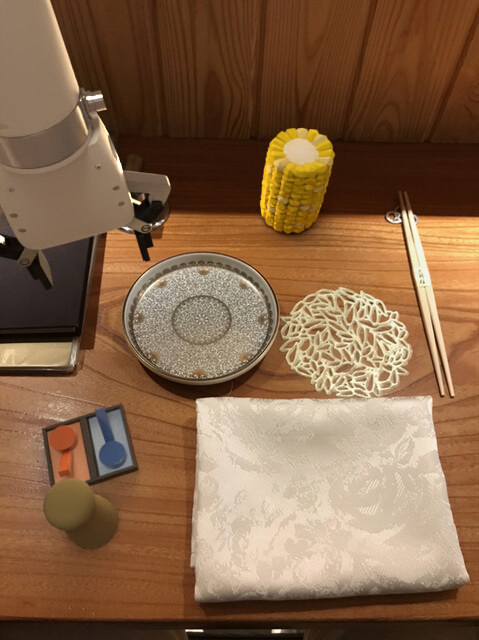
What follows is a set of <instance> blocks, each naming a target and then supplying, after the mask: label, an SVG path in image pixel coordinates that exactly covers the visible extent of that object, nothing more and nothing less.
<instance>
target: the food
mask: <svg viewBox="0 0 479 640" xmlns="http://www.w3.org/2000/svg"><path fill="white" fill-rule="evenodd" d="M333 148H334V147H333V144H332V142H331V141H330V140H329V139H328V137H327V135H325V134H320V133H319V131H318V129H311V128H310V129H309V130H308V129H307V128H303V127H300V128H297V129H296V128H295V127H293V128H287V129H286V131H283V130H281V131H280V132H279V133H278V134H276V136H275V137H274V138H273V139H272V140H271V141H270V142H269V146H268V148H267V150H268V151H266V157H265V163H264V164H265V165H264V168H263V175H262V178H263V179H262V181H261V195H260V199H261V200H260V201H259V206H260V213H261V217H262V218H263V220H265V223H266V225H267V226H268V227H272V228H273V229H274V231H275V232H279V233H282V232H284V233H285V234H287V235H288V234H291V233H295V234H300V233H301V232H303V231H305V229H309V228H311V227H312V225H313V223H316V221H317V219H318V217H319V213H320V210H321V207H322V204H323V203H324V196H325V194H326V193H327V187H329V181H330V179H329V178H330V177H331V173H332V171H331V170H332V169H333V165H334V158H335V156H336V154H335V152H334V150H333Z"/></svg>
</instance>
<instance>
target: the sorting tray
mask: <svg viewBox="0 0 479 640" xmlns="http://www.w3.org/2000/svg"><path fill="white" fill-rule="evenodd" d="M105 409H106V412H107V415H108V418H109V421H110V424H111V427H112V430H113V433H114V436H115V441H118V442H120V443H121V444H122V445H123V446H124V447H125V449H126V451H127V459H126V461H125V463H124V464H123V465H122V466H121V467H119V468H117V469H109V468H107V467H105V466H104V465H103V464H102V462H101V461H100V459H99V451H100V449H101V447H102V446H103V445H104V444H105V440H104V437H103V434H102V431H101V428H100V425H99V422H98V419H97V416H96V413H95V411H92V412H89V413H86V414H82V415H80V416H77V417H73V418H70V419H66V420H64V421H60V422H58V423H53V424H52V425H51V424H50V425H48V426H45V427H42V428H41V434H42V440H43V445H44V447H43V448H44V453H45V459H46V465H47V471H48V472H47V473H48V479H49V485H50V488H51V487H52V486H53V485H54V484H55V483H57V482H59V481H61V480H63V479H68V478H75V479H80V480H82V481H84V482H86V483H87V484H88V485H89V486H90V487H91V486H93V485H97V484H100V483H103V482H105V481H109V480H113V479H115V478H118V477H120V476H121V477H122V476H124V475H126V474H130V473H133V472H136V471H138V470H139V465H138V462H137V457H136V453H135V449H134V445H133V440H132V437H131V432H130V427H129V424H128V420H127V416H126V411H125V407H124V405H123V403H122V402H120V403H117V404H115V405H114V404H113V405H111V406H109V407H105ZM63 425H66V426H70V427H71V428H72V429H73V430H74V431H75V432H76V433H77V435H78V443H77V445H76V447H75V448H74V449H73V450H72V451H71V452H72V455H73V456H72V464H71V472H70V475H67V476H64V477H60V475H59V473H58V471H59V465H60V459H61V453H59V452H57V451H56V450H55V449H54V448H53V447H52V446H51V445H50V435H51V433H52V432H53V430H54V429H56V428H57V427H59V426H63Z"/></svg>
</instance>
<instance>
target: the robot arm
mask: <svg viewBox="0 0 479 640" xmlns="http://www.w3.org/2000/svg"><path fill="white" fill-rule="evenodd" d="M54 11H55V10H54V8H53V5H52V2H51V0H0V232H1V231H2V230H4V229H5V228H7V227H8V226H10V229H11V230H12V233H13V234H14V236H11V235H7V234H3V233H0V258H3V259H9V260H12V261H16V262H17V265H18V266H20V267H22V268H23V267H25V268H26V269H27V271H28V273H29V275H30V276H31V278H32V279H33V280H34V281H37V280H39V282H40V283H41V285H42V286H43V288H44V289H45V291H49V290H51V289H52V288H54V283H53V278H52V272H51V267H50V264H49V262H48V260H47V258H46V257H45V254H44V253H43V251H42V250H46V249H50V248H53V247H54V248H55V247H58V246H61V245H62V246H63V245H66V244H69V243H73V242H77V241H80V240H84V239H87V238H91V237H95V236H98V235H99V236H100V235H102V234H105V233H109V232H112V231H116V230H118V229H121V228H123V227H127V228H129V229H132V230H133V233H134V236H135V240H136V242H137V243H136V244H137V246H138V248H139V252H140V255H141V258H142V261H143V262H145V263H148V262H151V261H152V260H151V257H150V254H149V251H148V250H149V249H151V248H155V245H154V241H153V238H152V234H151V231H152V230H153V223H154V222H155V221H156V219H158V217H159V216H160V215H161V214H162V213H163V212H164V210H165V206H164V205H165V203H166V202H167V200H168V197H169V195H170V193H171V190H172V186H171V184H170V180H169V178H168V176H167V175H164V174H156V173H147V172H139V171H131V170H124V169H123V167H122V163H121V162H120V158H119V156H118V153H117V151H116V148H115V145H114V143H113V141H112V138H111V136H110V134H109V132H108V130H107V129H106V126H105V124H104V123H103V121H102V119H101V118H100V116H99V114H98V112H100V111H105V110H107V107H106V103H105V100H104V97H103V94H102V91H101V90H95V91H91V90H87V91H85V89H84V87H79V84H78V81H77V78H76V75H75V72H74V69H73V66H72V63H71V59H70V56H69V53H68V50H67V48H66V44H65V41H64V38H63V36H62V35H63V34H62V32H61V29H60V26H59V24H58V20H57V17H56V14H55V12H54ZM131 193H139V194H147V195H146V196H145V197H144V199H142V201H138V200H137V199H134V198H132V196H131Z"/></svg>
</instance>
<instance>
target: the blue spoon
mask: <svg viewBox="0 0 479 640" xmlns="http://www.w3.org/2000/svg"><path fill="white" fill-rule="evenodd" d="M105 408H106V407H105V406H102V407H97V408H95V410H94V412H95V413H96V416H97V419H98V422H99V425H100V428H101V431H102V434H103V437H104V440H105V444H104V445H103V446H102V447H101V449H100V451H99V459H100V461H101V462H102V464H103V465H104V466H105V467H107V468H109V469H117V468H119V467H121V466H122V465H123V464H124V463H125V461H126V459H127V451H126V449H125V447H124V446H123V445H122V444H121V443H120V442H118V441H115V436H114V433H113V430H112V427H111V424H110V421H109V418H108V415H107V412H106V409H105Z"/></svg>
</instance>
